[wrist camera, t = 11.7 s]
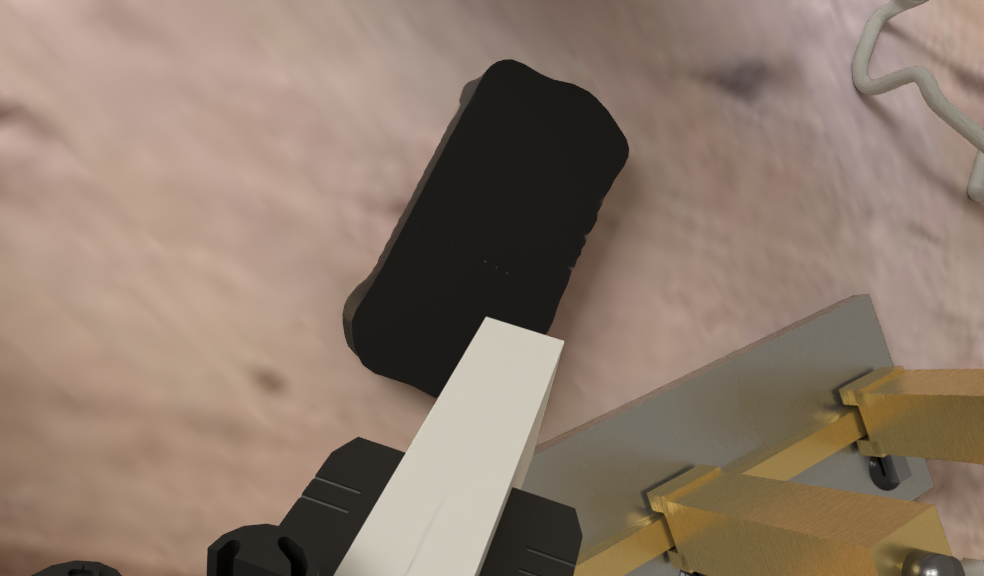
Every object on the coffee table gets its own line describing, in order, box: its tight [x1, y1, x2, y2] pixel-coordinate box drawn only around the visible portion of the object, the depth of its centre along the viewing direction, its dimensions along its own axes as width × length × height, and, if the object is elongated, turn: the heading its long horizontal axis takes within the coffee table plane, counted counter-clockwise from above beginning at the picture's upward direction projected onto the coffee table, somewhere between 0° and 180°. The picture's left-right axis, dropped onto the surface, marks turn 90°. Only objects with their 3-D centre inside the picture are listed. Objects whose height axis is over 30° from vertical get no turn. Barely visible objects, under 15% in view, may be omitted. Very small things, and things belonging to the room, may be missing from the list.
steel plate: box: [521, 294, 934, 576], centre depth 43 cm, size 12×30×1 cm, turn 112°
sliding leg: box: [647, 464, 965, 576], centre depth 35 cm, size 6×4×15 cm, turn 22°
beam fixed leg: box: [573, 366, 984, 576], centre depth 35 cm, size 6×27×15 cm, turn 112°
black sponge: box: [343, 60, 629, 399], centre depth 39 cm, size 16×8×4 cm, turn 153°
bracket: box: [852, 0, 984, 203], centre depth 51 cm, size 13×8×5 cm, turn 64°
